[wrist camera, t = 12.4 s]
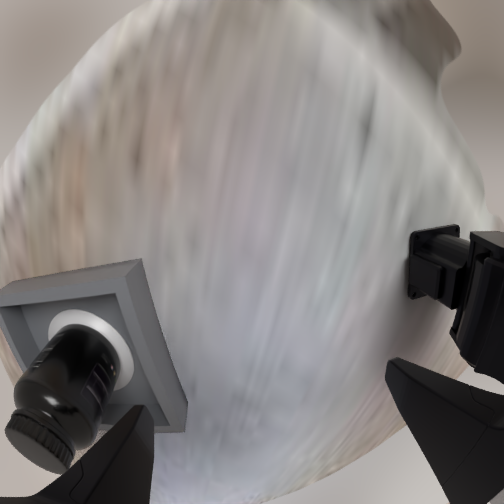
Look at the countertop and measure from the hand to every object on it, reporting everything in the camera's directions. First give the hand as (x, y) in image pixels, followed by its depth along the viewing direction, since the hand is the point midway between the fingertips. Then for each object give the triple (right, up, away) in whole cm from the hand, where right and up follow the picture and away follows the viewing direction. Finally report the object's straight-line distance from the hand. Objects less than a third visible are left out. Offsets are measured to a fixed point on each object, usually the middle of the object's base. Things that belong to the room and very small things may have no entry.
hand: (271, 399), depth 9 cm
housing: (-15, -4, +13) cm, 20 cm away
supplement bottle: (-15, -4, +12) cm, 20 cm away
